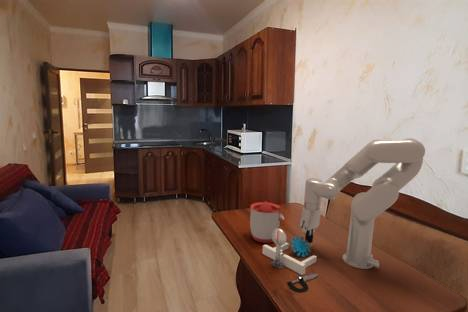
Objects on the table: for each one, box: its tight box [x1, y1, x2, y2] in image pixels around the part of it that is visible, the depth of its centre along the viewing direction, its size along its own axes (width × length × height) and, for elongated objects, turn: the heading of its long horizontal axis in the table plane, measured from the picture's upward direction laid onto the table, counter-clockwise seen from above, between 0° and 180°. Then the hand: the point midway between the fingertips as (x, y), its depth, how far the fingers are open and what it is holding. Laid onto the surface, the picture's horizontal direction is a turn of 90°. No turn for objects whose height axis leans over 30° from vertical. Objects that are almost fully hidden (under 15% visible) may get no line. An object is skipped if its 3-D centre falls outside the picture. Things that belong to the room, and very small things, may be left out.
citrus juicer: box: [249, 201, 285, 244], centre depth 146 cm, size 16×17×20 cm
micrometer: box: [286, 272, 319, 294], centre depth 109 cm, size 15×7×2 cm, turn 117°
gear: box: [290, 235, 312, 258], centre depth 133 cm, size 11×6×10 cm
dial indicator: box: [269, 227, 288, 270], centre depth 121 cm, size 7×6×16 cm
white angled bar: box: [262, 241, 317, 276], centre depth 127 cm, size 22×14×4 cm, turn 41°
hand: (308, 241), depth 136 cm, fingers closed
